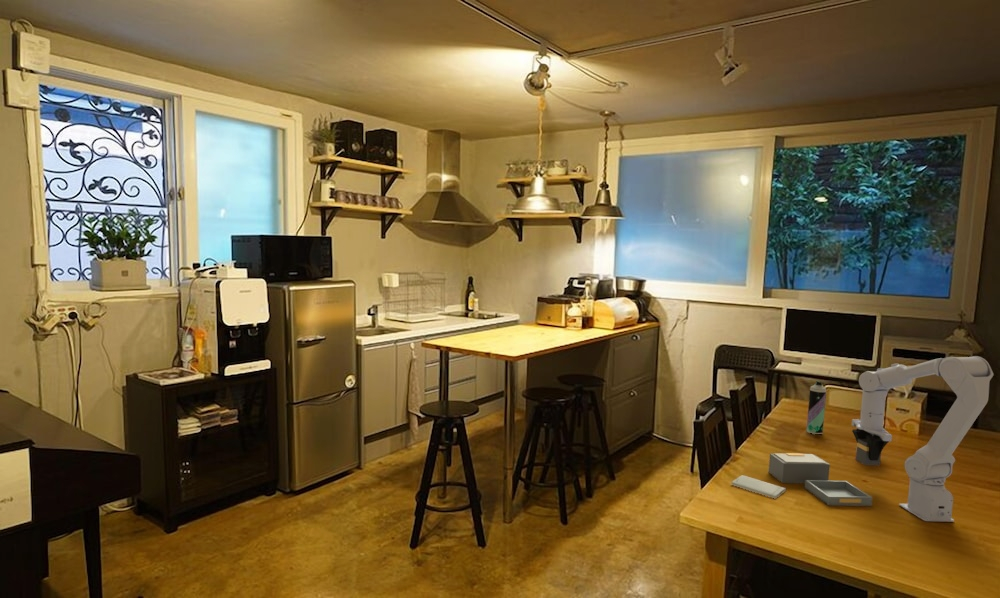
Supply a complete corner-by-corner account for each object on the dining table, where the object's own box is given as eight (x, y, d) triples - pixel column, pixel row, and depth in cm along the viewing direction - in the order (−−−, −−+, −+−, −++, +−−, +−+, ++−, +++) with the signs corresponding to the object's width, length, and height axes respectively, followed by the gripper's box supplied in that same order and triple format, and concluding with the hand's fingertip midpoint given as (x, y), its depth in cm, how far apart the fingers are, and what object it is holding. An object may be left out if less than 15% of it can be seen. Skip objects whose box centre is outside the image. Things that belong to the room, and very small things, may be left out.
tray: (871, 506, 156) (872, 497, 156) (828, 505, 156) (828, 496, 156) (845, 488, 168) (846, 480, 167) (804, 488, 167) (805, 480, 167)
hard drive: (731, 481, 167) (775, 495, 159) (742, 474, 173) (786, 487, 164) (730, 487, 167) (775, 501, 159) (742, 479, 173) (785, 492, 165)
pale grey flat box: (828, 483, 171) (829, 462, 170) (782, 482, 170) (783, 461, 170) (812, 472, 179) (813, 452, 178) (768, 472, 178) (769, 451, 178)
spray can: (803, 430, 222) (807, 380, 220) (814, 429, 224) (818, 379, 222) (814, 435, 217) (819, 383, 215) (826, 434, 219) (830, 382, 217)
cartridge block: (880, 465, 167) (882, 443, 167) (864, 465, 167) (866, 443, 167) (870, 460, 171) (872, 439, 171) (855, 459, 171) (857, 438, 171)
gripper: (843, 404, 175) (839, 448, 176) (876, 419, 161) (871, 466, 162) (866, 405, 175) (862, 448, 176) (900, 419, 161) (896, 466, 162)
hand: (868, 457), depth 169 cm, fingers closed on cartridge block, 4 cm apart
